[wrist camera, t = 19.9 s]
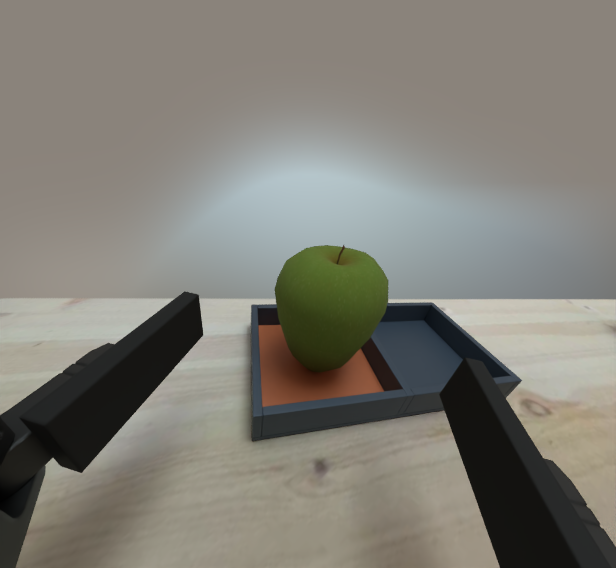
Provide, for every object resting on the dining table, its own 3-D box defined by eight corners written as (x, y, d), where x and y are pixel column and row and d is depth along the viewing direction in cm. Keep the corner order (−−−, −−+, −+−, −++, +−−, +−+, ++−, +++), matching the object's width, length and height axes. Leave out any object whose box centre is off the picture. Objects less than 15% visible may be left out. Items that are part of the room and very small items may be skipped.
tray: (252, 441, 15) (252, 417, 14) (251, 325, 25) (251, 304, 24) (503, 400, 21) (522, 380, 20) (423, 319, 31) (432, 302, 29)
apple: (333, 323, 26) (358, 226, 21) (380, 384, 20) (434, 268, 14) (259, 338, 23) (264, 224, 17) (288, 418, 16) (312, 280, 11)
